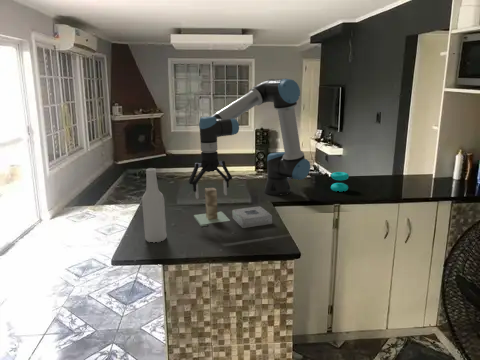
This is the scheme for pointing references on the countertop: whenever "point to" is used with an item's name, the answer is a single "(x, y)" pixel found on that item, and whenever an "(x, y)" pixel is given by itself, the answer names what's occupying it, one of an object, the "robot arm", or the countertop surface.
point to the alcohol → (153, 209)
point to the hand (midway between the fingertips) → (211, 196)
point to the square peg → (211, 203)
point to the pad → (204, 221)
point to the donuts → (340, 176)
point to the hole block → (252, 217)
